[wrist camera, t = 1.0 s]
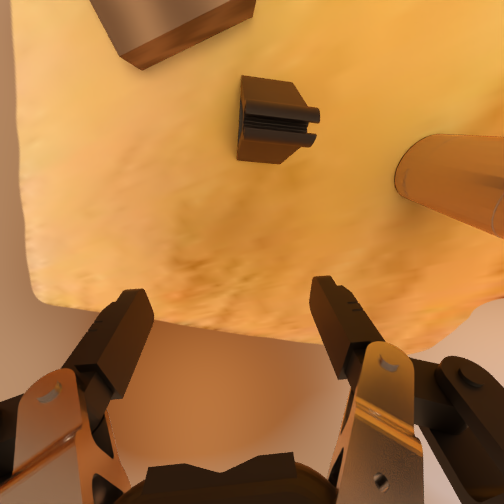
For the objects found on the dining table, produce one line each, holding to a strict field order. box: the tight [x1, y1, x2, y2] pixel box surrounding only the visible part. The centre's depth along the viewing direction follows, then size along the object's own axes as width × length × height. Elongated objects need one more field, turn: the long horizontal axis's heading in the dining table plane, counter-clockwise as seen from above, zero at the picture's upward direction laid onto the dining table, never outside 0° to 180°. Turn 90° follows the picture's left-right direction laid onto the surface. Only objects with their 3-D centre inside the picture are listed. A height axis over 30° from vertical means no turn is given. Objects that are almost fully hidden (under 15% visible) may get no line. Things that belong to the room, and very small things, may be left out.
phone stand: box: [237, 75, 320, 164], centre depth 22 cm, size 9×6×12 cm, turn 174°
